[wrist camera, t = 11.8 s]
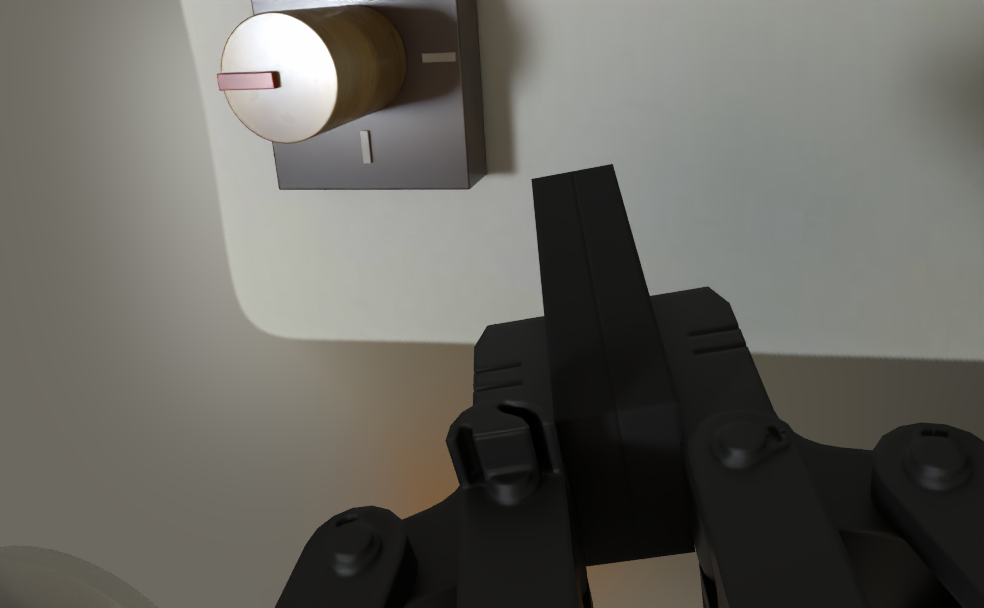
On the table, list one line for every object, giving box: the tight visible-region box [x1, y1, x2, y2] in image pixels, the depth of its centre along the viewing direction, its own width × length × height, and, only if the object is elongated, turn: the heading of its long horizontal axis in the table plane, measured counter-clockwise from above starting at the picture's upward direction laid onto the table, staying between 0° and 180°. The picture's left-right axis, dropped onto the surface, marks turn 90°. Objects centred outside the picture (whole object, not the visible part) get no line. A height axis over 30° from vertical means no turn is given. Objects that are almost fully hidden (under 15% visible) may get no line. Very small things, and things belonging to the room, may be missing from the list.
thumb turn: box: [217, 5, 407, 144], centre depth 32 cm, size 4×4×7 cm
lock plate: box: [251, 0, 487, 190], centre depth 37 cm, size 11×9×3 cm
